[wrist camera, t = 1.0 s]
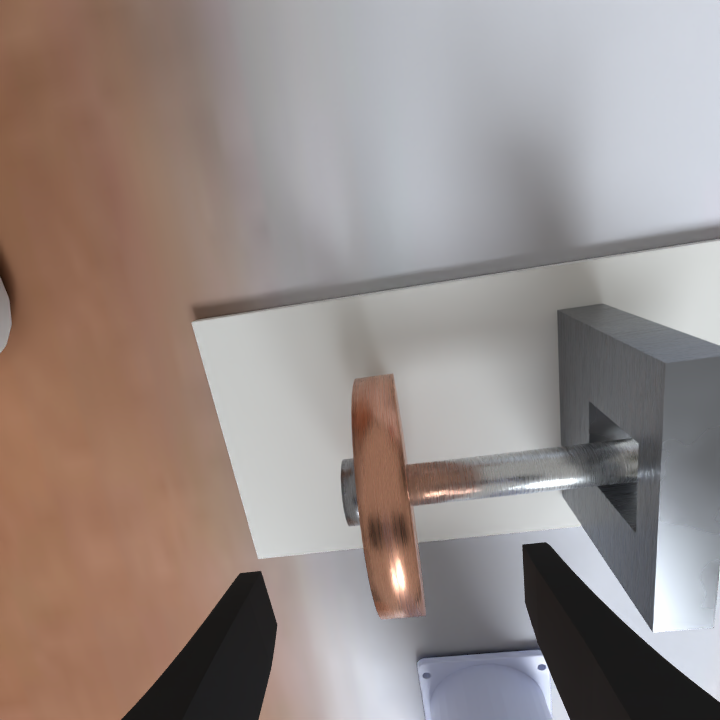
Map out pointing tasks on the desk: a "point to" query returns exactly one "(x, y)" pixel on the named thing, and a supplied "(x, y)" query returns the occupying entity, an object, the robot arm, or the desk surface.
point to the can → (4, 316)
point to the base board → (424, 385)
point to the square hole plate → (648, 457)
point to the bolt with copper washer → (442, 487)
